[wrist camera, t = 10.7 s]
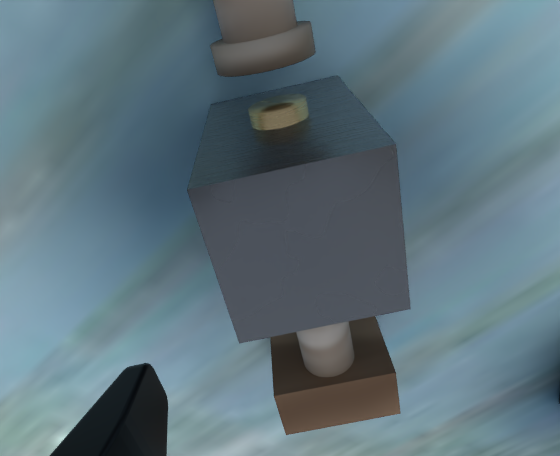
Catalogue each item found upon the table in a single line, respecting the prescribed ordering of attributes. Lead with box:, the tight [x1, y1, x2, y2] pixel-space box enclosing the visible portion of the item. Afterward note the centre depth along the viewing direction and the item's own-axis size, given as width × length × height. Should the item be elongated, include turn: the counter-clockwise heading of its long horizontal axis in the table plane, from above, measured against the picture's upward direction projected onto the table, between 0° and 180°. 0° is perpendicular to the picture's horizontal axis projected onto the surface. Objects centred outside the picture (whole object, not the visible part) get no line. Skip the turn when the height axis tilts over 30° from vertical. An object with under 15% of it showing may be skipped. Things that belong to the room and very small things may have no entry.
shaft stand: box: [210, 0, 400, 435], centre depth 17 cm, size 22×5×5 cm, turn 12°
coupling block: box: [187, 76, 410, 343], centre depth 15 cm, size 6×5×8 cm
